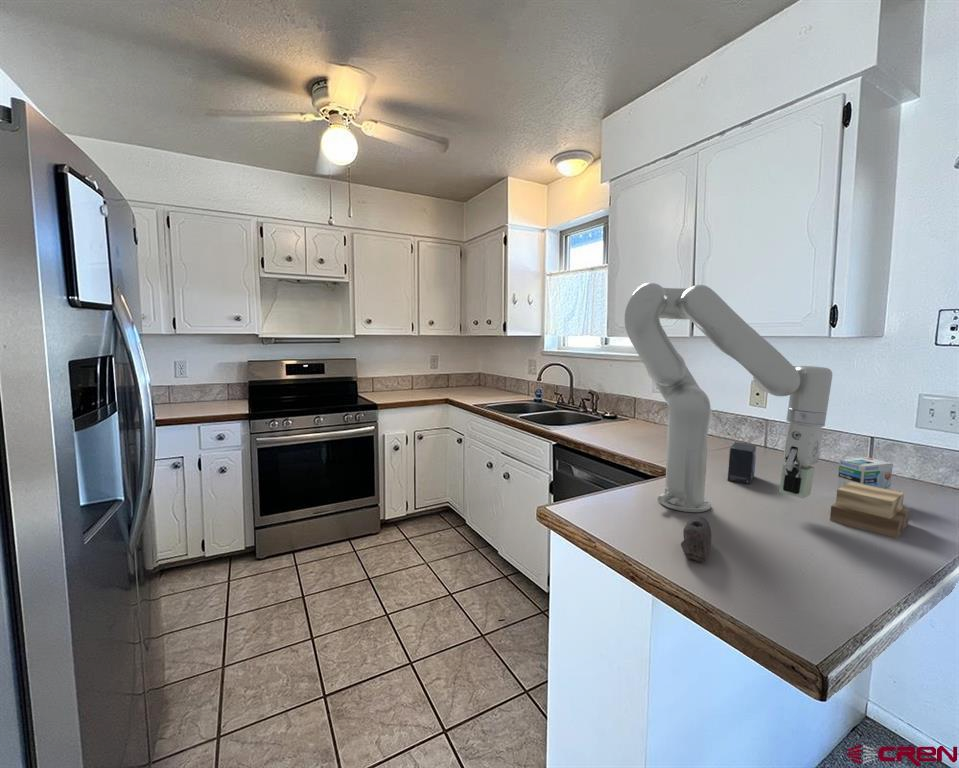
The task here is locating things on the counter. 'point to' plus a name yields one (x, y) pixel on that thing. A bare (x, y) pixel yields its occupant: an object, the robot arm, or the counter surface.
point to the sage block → (805, 481)
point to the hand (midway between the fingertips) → (795, 489)
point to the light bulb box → (865, 472)
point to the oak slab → (870, 499)
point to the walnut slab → (871, 520)
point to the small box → (742, 462)
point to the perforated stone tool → (697, 539)
